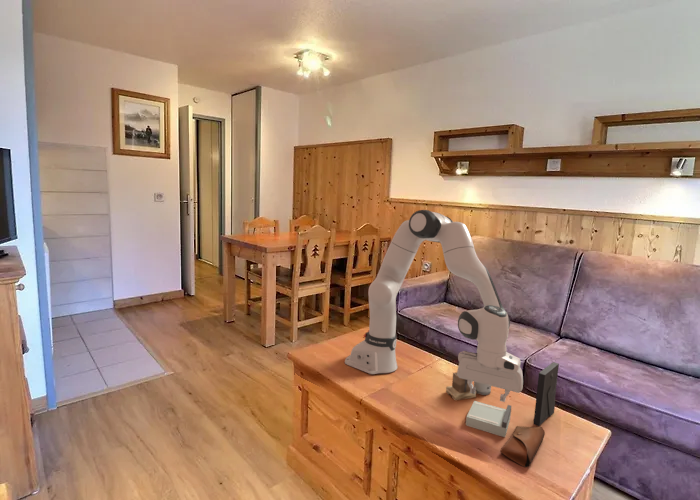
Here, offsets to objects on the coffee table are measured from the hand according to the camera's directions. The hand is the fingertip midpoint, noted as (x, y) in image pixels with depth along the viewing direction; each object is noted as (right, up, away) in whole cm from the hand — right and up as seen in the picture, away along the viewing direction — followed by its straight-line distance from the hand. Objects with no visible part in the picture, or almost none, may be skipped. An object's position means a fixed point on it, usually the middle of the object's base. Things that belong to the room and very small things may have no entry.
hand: (487, 396), depth 129 cm
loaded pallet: (-4, -6, +18) cm, 20 cm away
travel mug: (+6, -6, +22) cm, 23 cm away
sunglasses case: (+5, -11, -11) cm, 16 cm away
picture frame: (+21, -9, +5) cm, 23 cm away
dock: (+1, -9, +1) cm, 9 cm away
